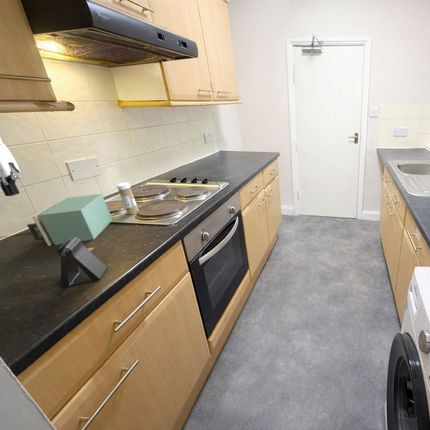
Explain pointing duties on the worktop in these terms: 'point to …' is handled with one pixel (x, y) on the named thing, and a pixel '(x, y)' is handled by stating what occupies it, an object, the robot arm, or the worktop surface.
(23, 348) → the worktop surface
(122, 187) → the sprinkles bottle
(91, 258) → the phone stand
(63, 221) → the teal rectangular block
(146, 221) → the worktop surface
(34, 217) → the door
